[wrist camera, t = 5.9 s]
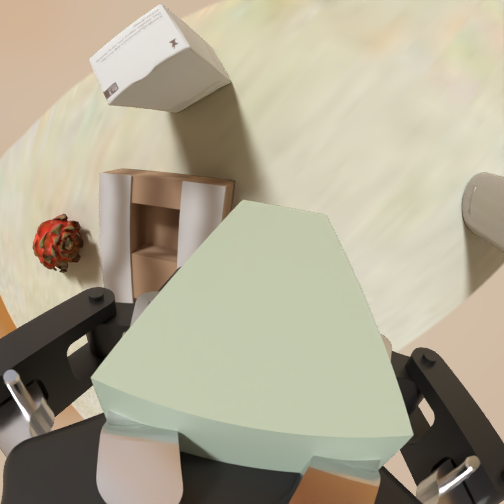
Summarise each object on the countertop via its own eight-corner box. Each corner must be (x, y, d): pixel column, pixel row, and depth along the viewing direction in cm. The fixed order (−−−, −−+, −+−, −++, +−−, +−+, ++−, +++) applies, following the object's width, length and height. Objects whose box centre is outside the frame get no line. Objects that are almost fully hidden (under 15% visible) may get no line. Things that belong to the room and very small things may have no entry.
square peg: (326, 215, 16) (413, 435, 3) (308, 290, 18) (315, 516, 5) (242, 199, 16) (90, 377, 3) (232, 275, 18) (139, 483, 5)
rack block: (235, 181, 33) (225, 186, 28) (215, 348, 43) (207, 370, 38) (122, 168, 34) (99, 173, 30) (127, 324, 44) (112, 342, 39)
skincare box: (212, 48, 28) (165, -4, 14) (234, 84, 29) (194, 44, 15) (156, 82, 30) (85, 56, 16) (175, 118, 31) (105, 106, 18)
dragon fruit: (101, 220, 40) (69, 245, 44) (60, 191, 33) (34, 223, 38) (87, 267, 35) (56, 286, 40) (39, 239, 29) (17, 264, 33)
